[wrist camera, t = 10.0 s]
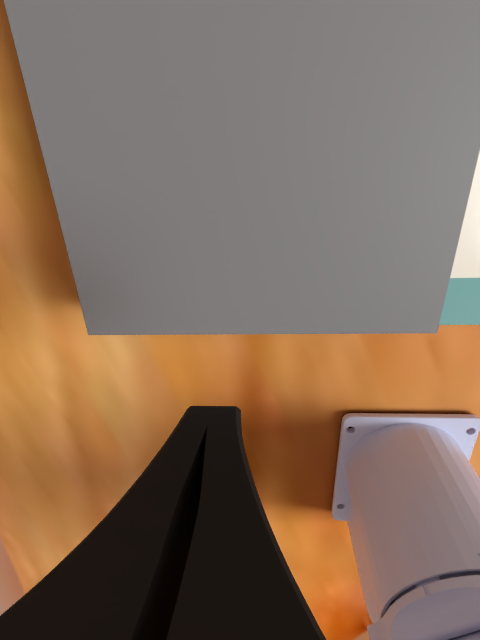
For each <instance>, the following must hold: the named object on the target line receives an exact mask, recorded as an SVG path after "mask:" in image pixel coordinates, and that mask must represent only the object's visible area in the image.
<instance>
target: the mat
mask: <svg viewBox="0 0 480 640" xmlns="http://www.w3.org/2000/svg"><path fill="white" fill-rule="evenodd" d="M439 325H480V278H450V280H449V284H448V288H447V293H446V297H445V301H444V306H443V310H442V314H441V318H440V323H439Z"/></svg>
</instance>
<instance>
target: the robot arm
mask: <svg viewBox="0 0 480 640" xmlns="http://www.w3.org/2000/svg"><path fill="white" fill-rule="evenodd" d="M348 427H352V428H350V429H348ZM469 428H471V429H469ZM468 429H469V430H468ZM479 430H480V419H479V417H478V416H476V415H473V414H386V413H349V414H346V415H345V416H344V417H343V418H342V424H341V433H340V441H339V450H338V459H337V468H336V476H335V485H334V494H333V503H332V517H333V518H334V519H336V520H347V522H348V526H349V531H350V536H351V540H352V545H353V549H354V554H355V559H356V563H357V568H358V572H359V577H360V582H361V586H362V591H363V596H364V600H365V605H366V608H367V611H368V614H369V617H370V619H371V621H372V623H373V624H370V625H368V626H367V630H368V634H369V639H370V640H480V478H479V476H478V475H477V473H476V471H475V470H474V468H473V467H472V465H471V463H470V462H469V460H470V457H471V454H472V451H473V448H474V445H475V442H476V439H477V436H478V433H479ZM0 640H326V638H325V637H324V635H323V633H322V631H321V629H320V628H319V626H318V624H317V622H316V620H315V618H314V616H313V614H312V612H311V610H310V608H309V606H308V604H307V603H306V601H305V599H304V597H303V595H302V593H301V591H300V589H299V587H298V585H297V583H296V581H295V579H294V577H293V575H292V573H291V571H290V569H289V567H288V565H287V563H286V561H285V558H284V556H283V554H282V552H281V550H280V548H279V545H278V543H277V541H276V538H275V536H274V534H273V531H272V529H271V527H270V524H269V522H268V519H267V517H266V514H265V512H264V509H263V506H262V504H261V501H260V498H259V495H258V492H257V490H256V487H255V484H254V480H253V477H252V474H251V471H250V467H249V464H248V460H247V457H246V453H245V448H244V444H243V439H242V430H241V410H240V409H239V408H238V407H236V406H190V407H189V408H188V409H187V410H186V412H185V414H184V415H183V417H182V418H181V420H180V421H179V423H178V425H177V426H176V428H175V429H174V431H173V432H172V434H171V435H170V436H169V438H168V439H167V441H166V442H165V444H164V445H163V446H162V448H161V449H160V451H159V452H158V453H157V455H156V456H155V457H154V459H153V460H152V461H151V463H150V464H149V465H148V467H147V468H146V469H145V471H144V472H143V473H142V474H141V476H140V477H139V478H138V479H137V480H136V482H135V483H134V484H133V485H132V487H131V488H130V489H129V490H128V491H127V493H126V494H125V495H124V496H123V497H122V499H121V500H120V501H119V502H118V503H117V504H116V506H115V507H114V508H113V509H112V510H111V511H110V512H109V513H108V515H107V516H106V517H105V518H104V519H103V520H102V521H101V522H100V523H99V524H98V525H97V526H96V527H95V528H94V529H93V530H92V532H91V533H90V534H89V535H88V536H87V537H86V538H85V539H84V540H83V541H82V542H81V543H80V544H79V545H78V546H77V547H76V548H75V549H74V550H73V551H72V552H71V553H70V554H69V555H67V556H66V557H65V558H64V559H63V560H62V561H61V562H60V563H59V564H58V565H57V566H56V567H55V568H54V569H53V570H52V571H51V572H50V573H49V574H48V575H47V576H45V577H44V578H43V579H42V580H41V581H40V582H39V583H38V584H37V585H36V586H34V587H33V588H32V589H31V590H30V591H29V592H28V593H26V594H25V595H24V596H23V597H22V598H21V599H20V600H18V601H17V602H16V603H15V604H14V605H12V606H11V607H10V608H9V609H8V610H7V611H5V612H4V613H3V614H2V615H1V616H0Z"/></svg>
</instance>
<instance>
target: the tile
mask: <svg viewBox="0 0 480 640" xmlns="http://www.w3.org/2000/svg"><path fill="white" fill-rule="evenodd" d="M450 278H480V151H479V156H478V160H477V164H476V168H475V173H474V177H473V181H472V186H471V190H470V194H469V198H468V203H467V207H466V211H465V216H464V220H463V224H462V228H461V233H460V237H459V241H458V246H457V250H456V254H455V258H454V263H453V267H452V271H451V276H450Z"/></svg>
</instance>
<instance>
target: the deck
mask: <svg viewBox="0 0 480 640" xmlns="http://www.w3.org/2000/svg"><path fill="white" fill-rule="evenodd" d="M4 4H5V8H6V12H7V16H8V20H9V24H10V28H11V32H12V36H13V40H14V44H15V48H16V52H17V56H18V59H19V63H20V67H21V71H22V75H23V79H24V83H25V87H26V91H27V95H28V99H29V103H30V107H31V111H32V115H33V119H34V123H35V126H36V130H37V134H38V138H39V142H40V146H41V150H42V154H43V158H44V162H45V166H46V170H47V174H48V178H49V182H50V186H51V190H52V194H53V197H54V201H55V205H56V209H57V213H58V217H59V221H60V225H61V229H62V233H63V237H64V241H65V245H66V249H67V253H68V257H69V261H70V264H71V268H72V272H73V276H74V280H75V284H76V288H77V292H78V296H79V300H80V304H81V308H82V312H83V316H84V320H85V324H86V328H87V331H88V335H176V334H379V333H437V331H438V327H439V323H440V318H441V314H442V310H443V306H444V301H445V297H446V293H447V288H448V284H449V280H450V276H451V271H452V267H453V263H454V258H455V254H456V250H457V246H458V241H459V237H460V233H461V228H462V224H463V220H464V216H465V211H466V207H467V203H468V198H469V194H470V190H471V186H472V181H473V177H474V173H475V168H476V164H477V160H478V156H479V151H480V0H4Z"/></svg>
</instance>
